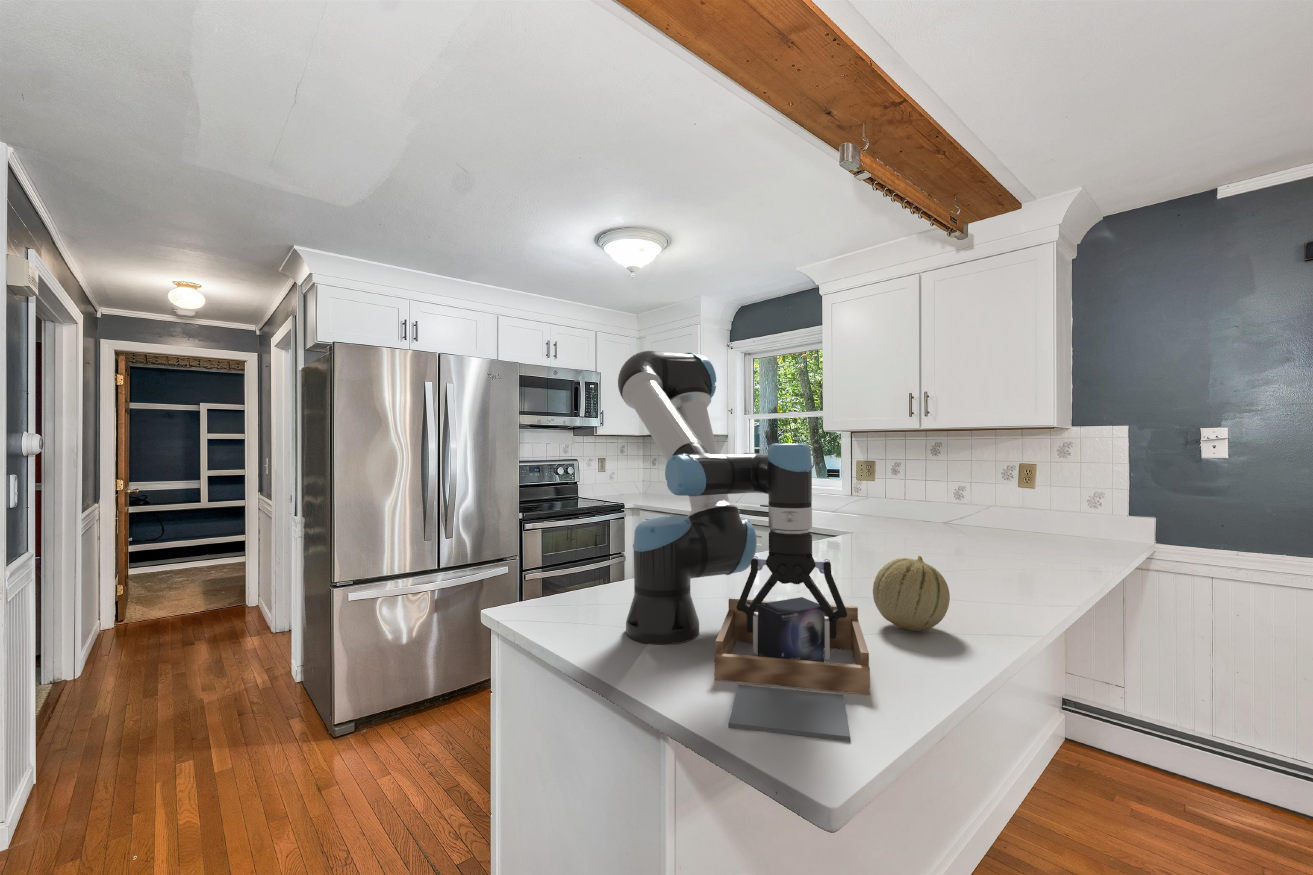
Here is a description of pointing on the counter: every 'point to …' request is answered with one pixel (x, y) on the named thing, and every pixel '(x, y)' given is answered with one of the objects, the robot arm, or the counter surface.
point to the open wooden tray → (789, 669)
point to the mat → (790, 712)
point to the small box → (791, 630)
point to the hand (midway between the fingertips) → (791, 653)
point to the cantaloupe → (911, 594)
